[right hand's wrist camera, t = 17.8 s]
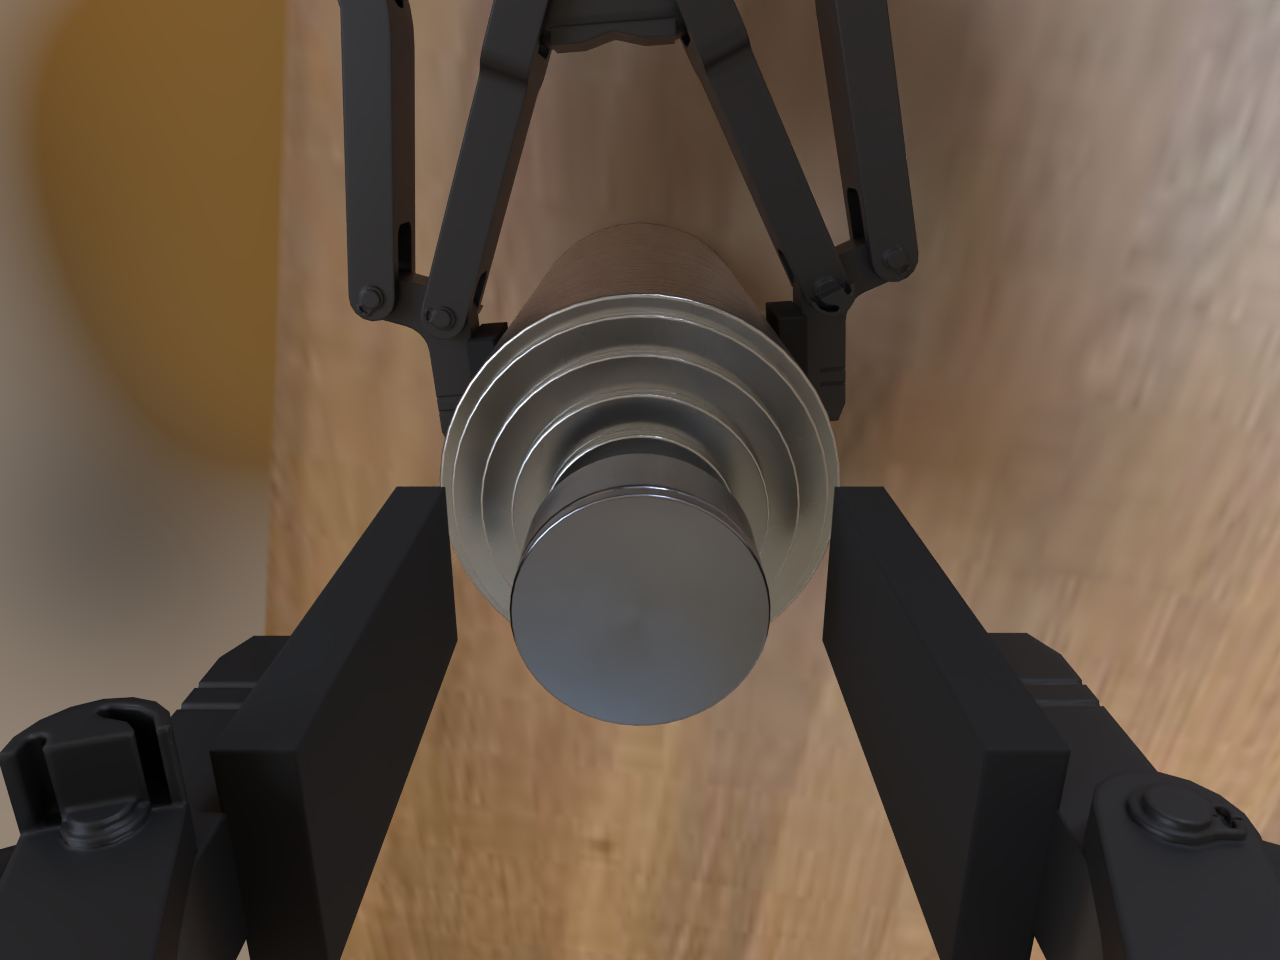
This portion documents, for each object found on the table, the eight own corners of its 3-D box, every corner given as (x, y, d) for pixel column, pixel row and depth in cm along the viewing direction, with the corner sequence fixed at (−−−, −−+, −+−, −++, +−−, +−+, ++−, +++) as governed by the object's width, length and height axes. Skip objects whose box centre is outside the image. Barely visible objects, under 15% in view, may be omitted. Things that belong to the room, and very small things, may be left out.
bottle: (735, 449, 33) (853, 826, 15) (525, 431, 33) (381, 792, 15) (763, 233, 30) (950, 368, 12) (535, 212, 30) (376, 318, 12)
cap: (692, 410, 14) (699, 448, 12) (793, 604, 15) (812, 664, 13) (481, 515, 14) (459, 566, 13) (594, 694, 15) (588, 762, 14)
